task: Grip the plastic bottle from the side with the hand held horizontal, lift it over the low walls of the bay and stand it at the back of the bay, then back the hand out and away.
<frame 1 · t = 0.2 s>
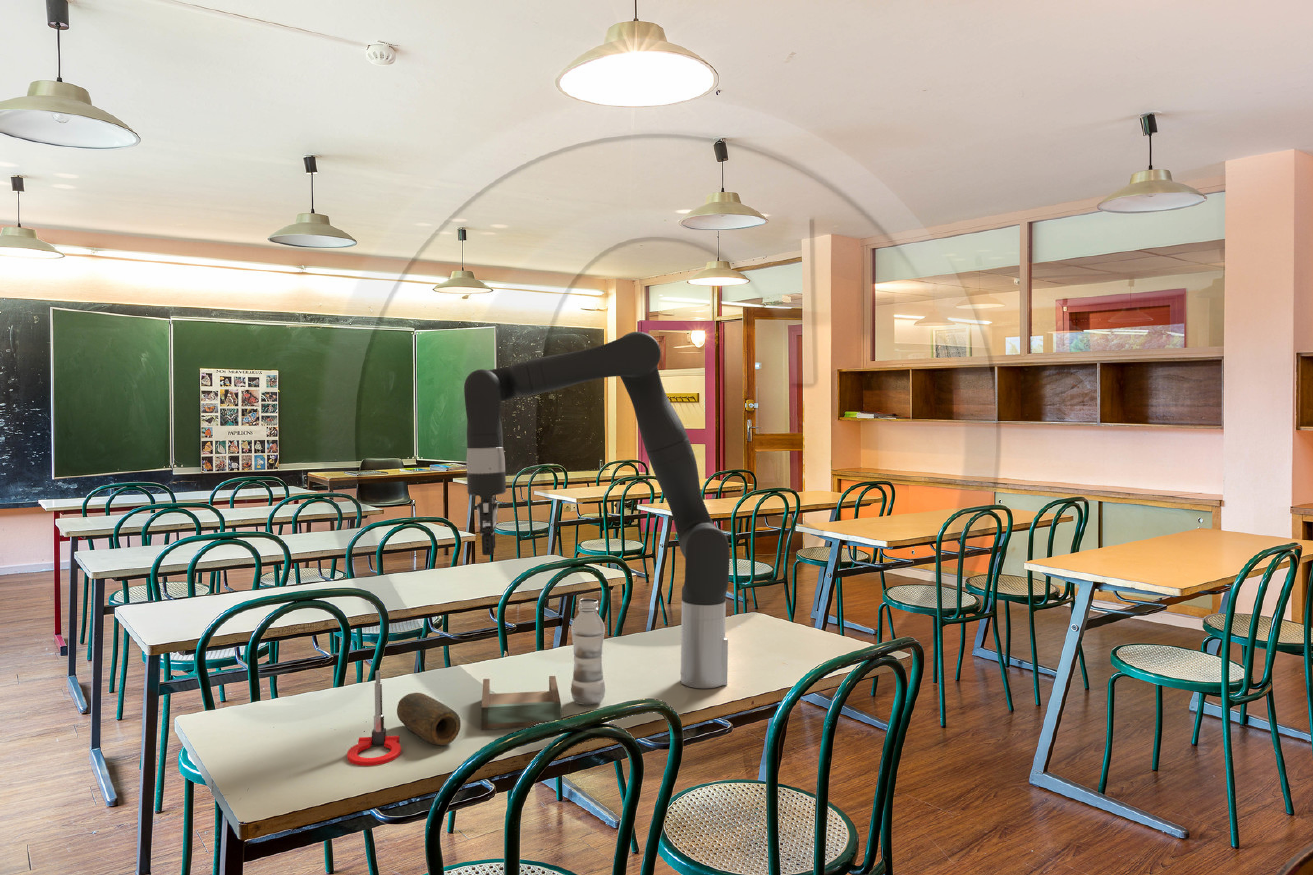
hand: (489, 551, 171), 28 cm above the table, tool pointing down, fingers open, 8 cm apart
tow hook: (374, 755, 141), on the table
bay: (520, 711, 161), on the table
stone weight: (428, 736, 149), on the table
plastic bottle: (587, 703, 166), on the table
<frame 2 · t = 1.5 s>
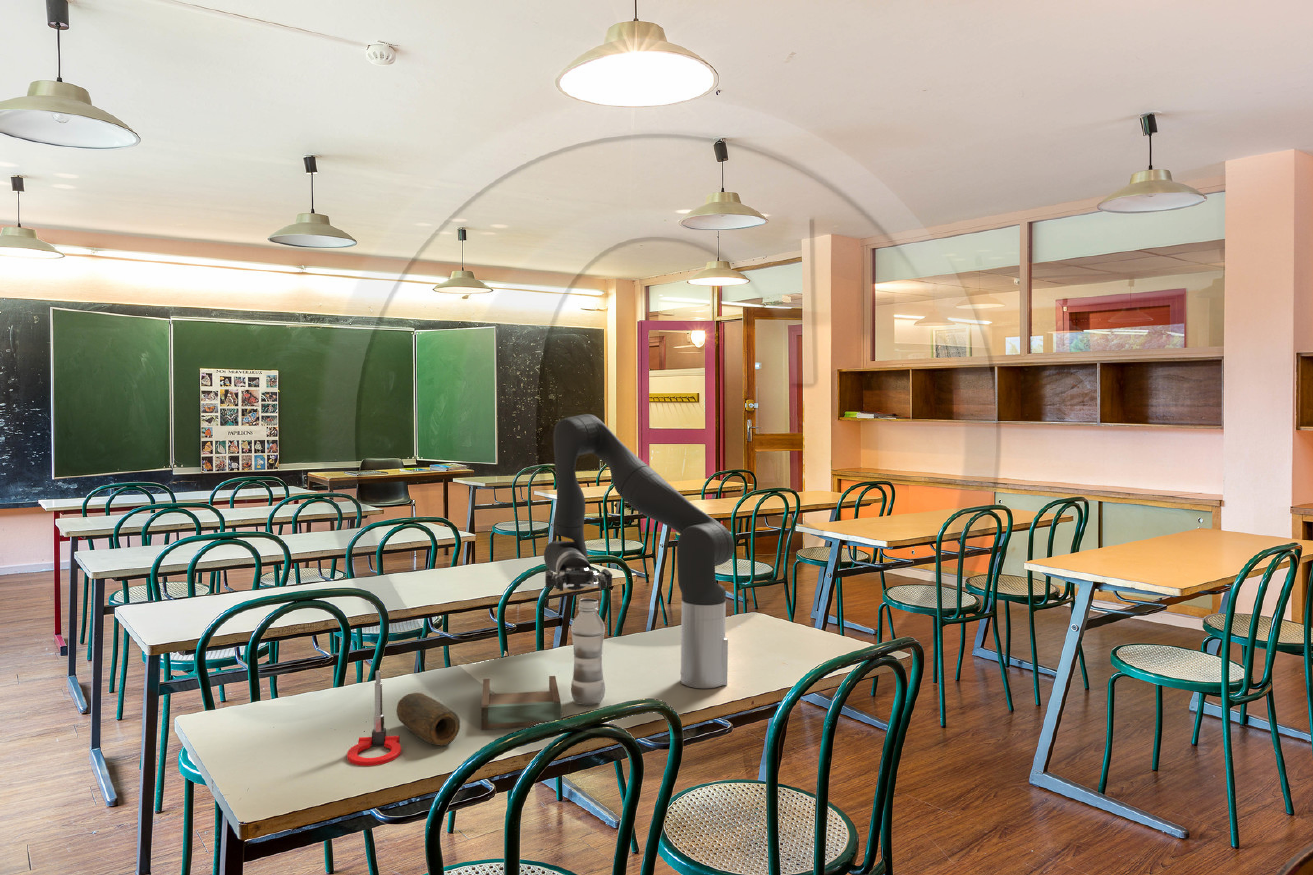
hand: (582, 585, 178), 20 cm above the table, tool horizontal, fingers open, 8 cm apart
nothing on the table moved.
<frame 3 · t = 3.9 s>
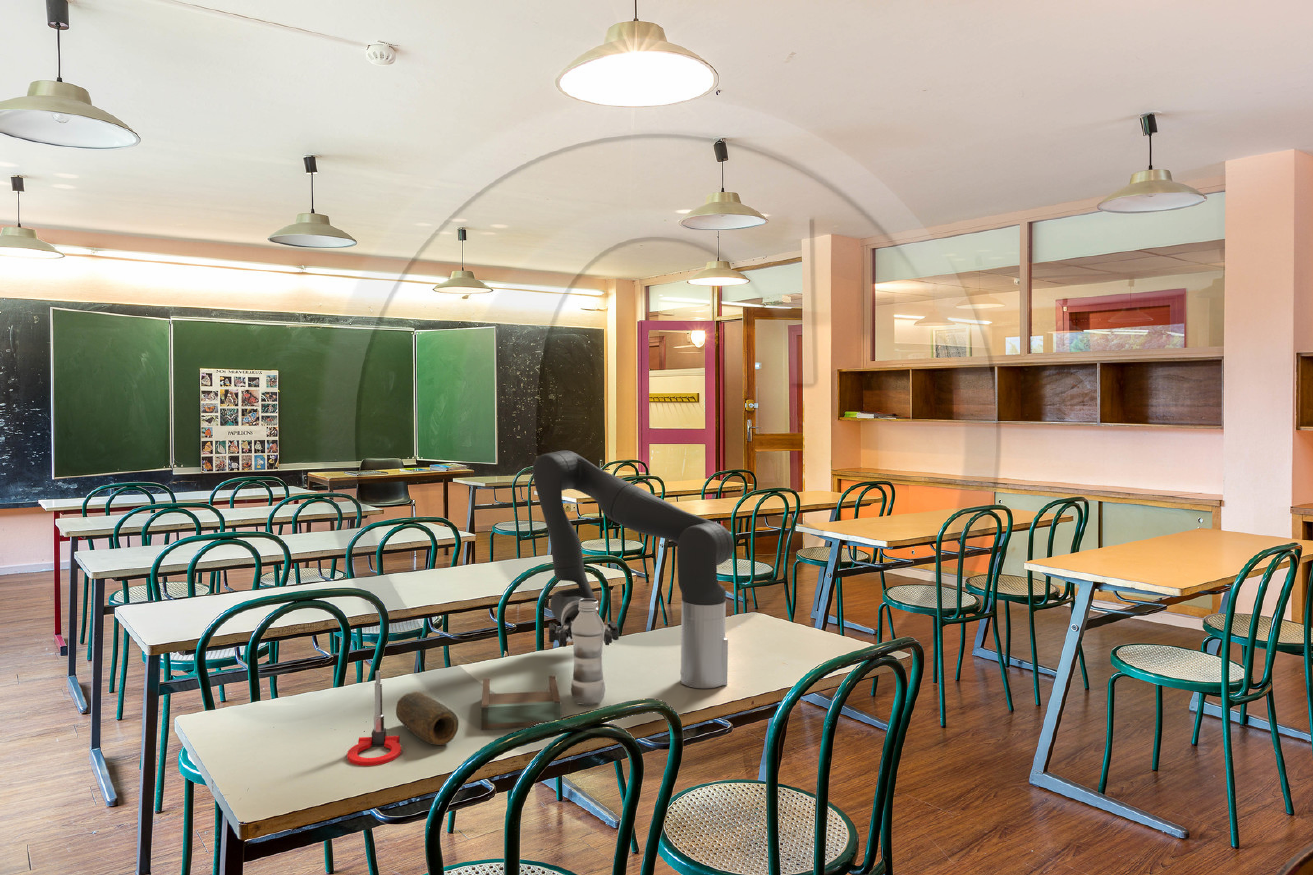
hand: (586, 641, 170), 11 cm above the table, tool horizontal, fingers open, 8 cm apart
nothing on the table moved.
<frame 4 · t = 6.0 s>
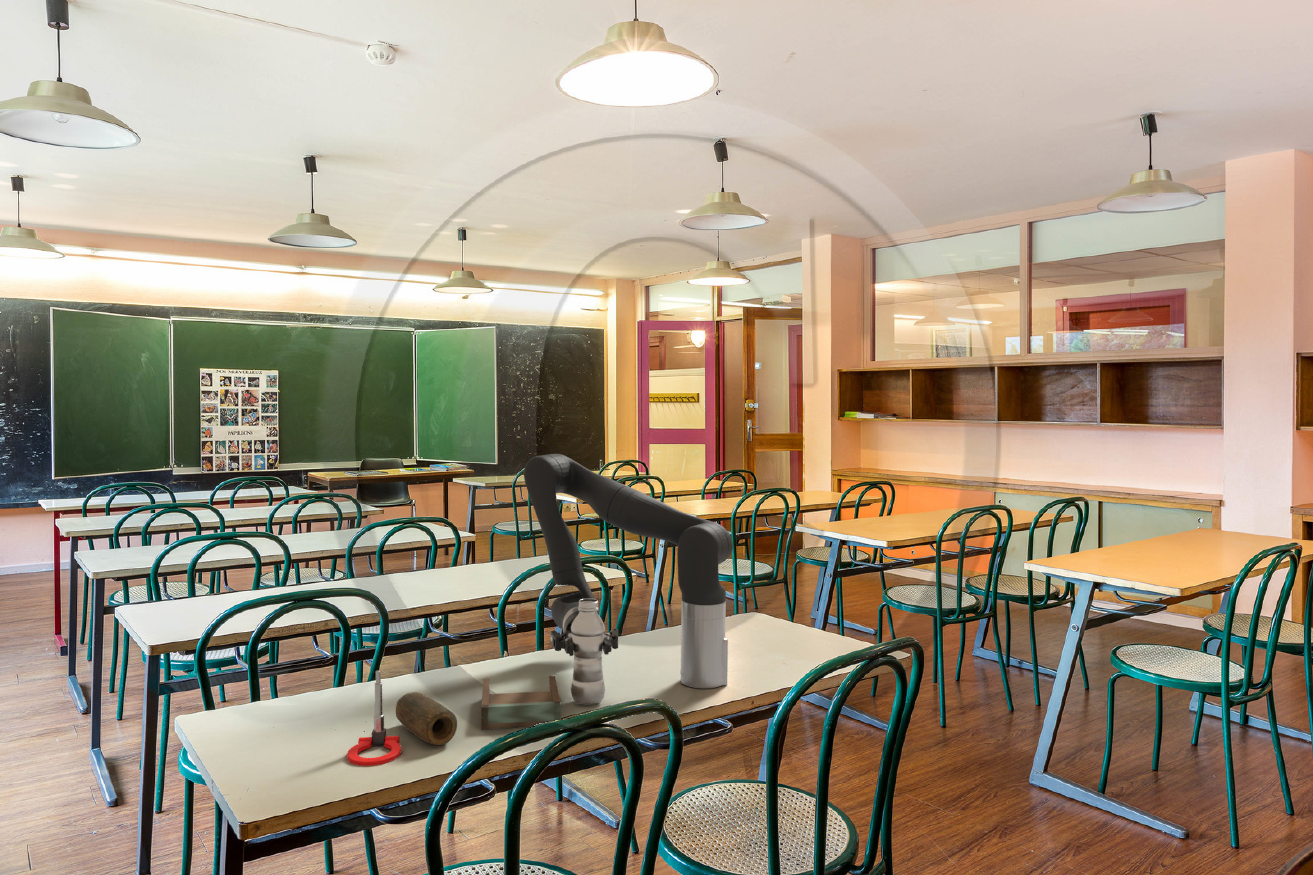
hand: (589, 650, 164), 11 cm above the table, tool horizontal, fingers closed on plastic bottle, 6 cm apart
plastic bottle: (587, 703, 166), on the table, touching gripper
everything else where it was.
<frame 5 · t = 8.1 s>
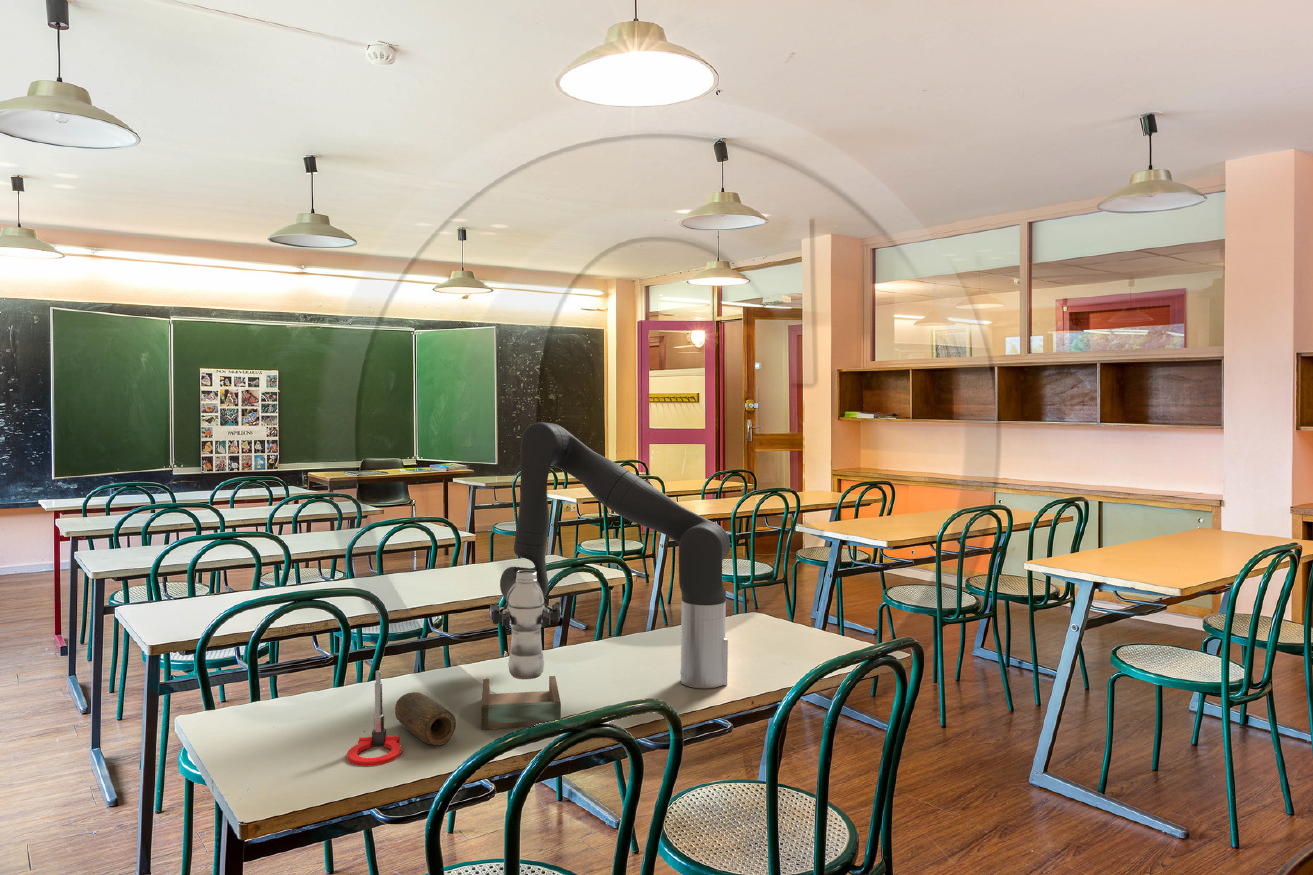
hand: (526, 622, 157), 18 cm above the table, tool horizontal, fingers closed on plastic bottle, 6 cm apart
plastic bottle: (526, 678, 160), point 6 cm above the table, touching gripper
everything else where it was.
when the fingers open (13 cm above the table, at t = 10.2 s): plastic bottle drops 1 cm, resting on bay.
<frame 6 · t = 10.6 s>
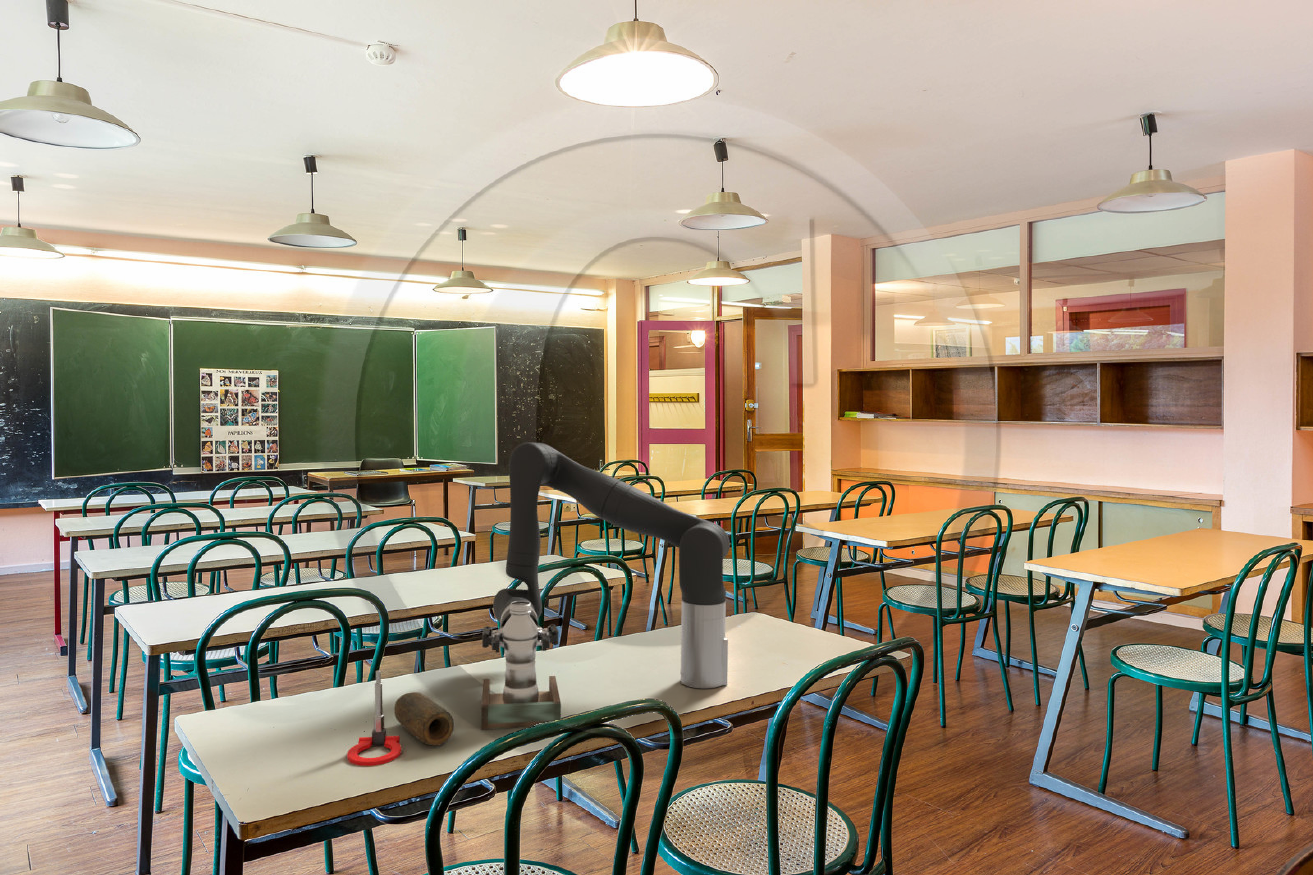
hand: (521, 646, 157), 14 cm above the table, tool horizontal, fingers open, 8 cm apart
plastic bottle: (520, 710, 159), point 1 cm above the table, touching bay
everything else where it was.
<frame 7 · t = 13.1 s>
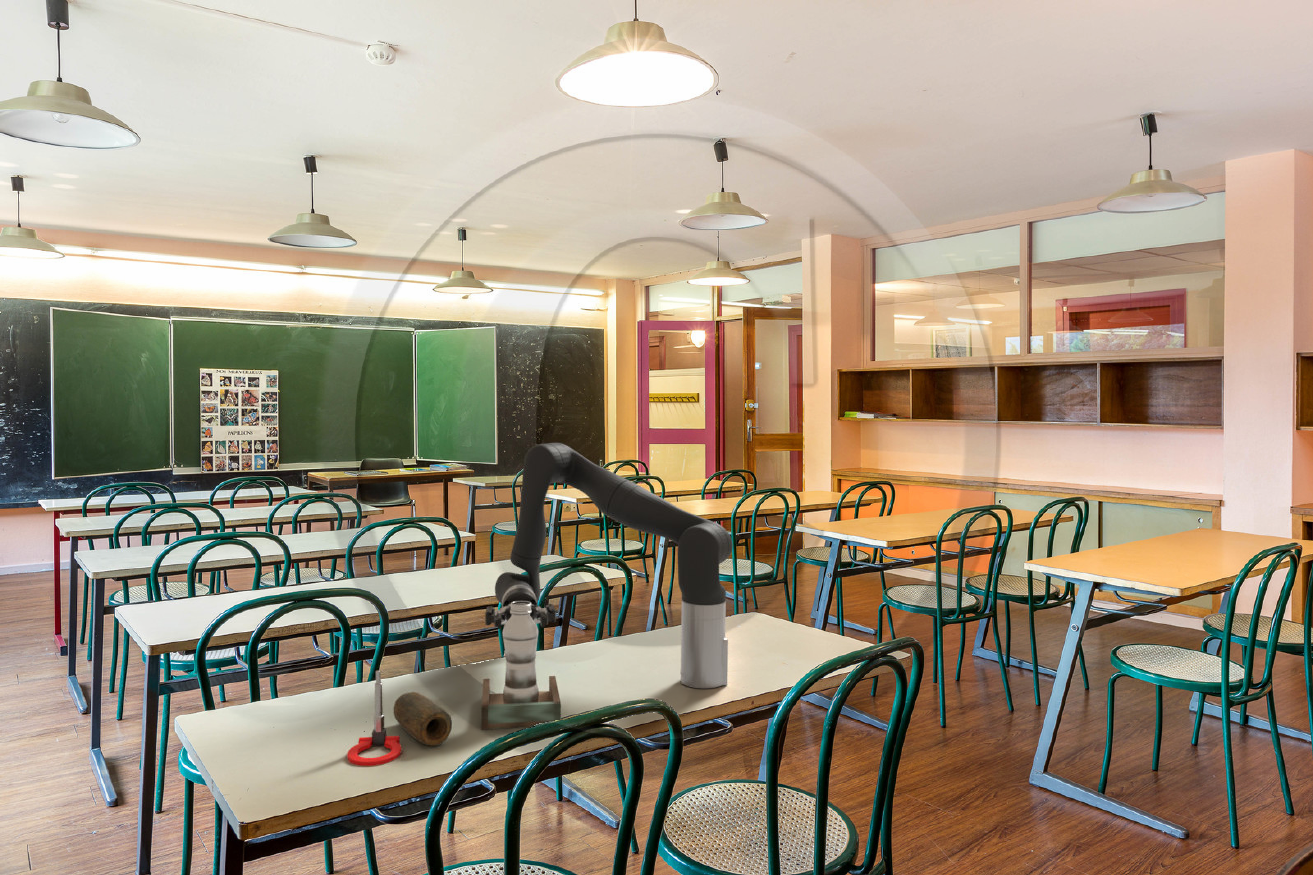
hand: (521, 623, 170), 14 cm above the table, tool horizontal, fingers open, 8 cm apart
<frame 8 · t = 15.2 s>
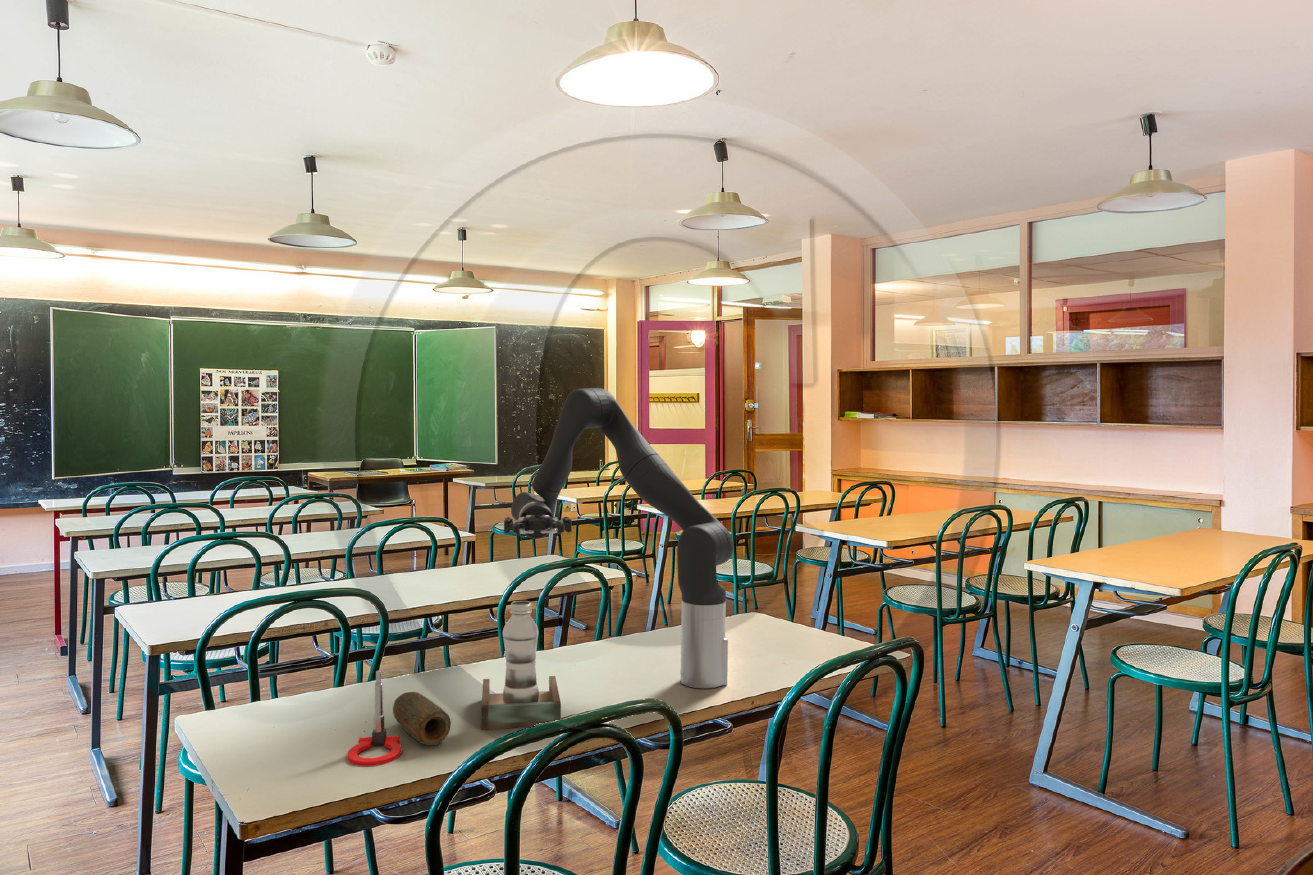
hand: (539, 529, 176), 32 cm above the table, tool horizontal, fingers open, 8 cm apart
at the end: plastic bottle inside the target area on the bay (0.3 cm from its centre), point 0.8 cm above the bay's base; plastic bottle tilted 0°; the gripper is holding nothing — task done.
